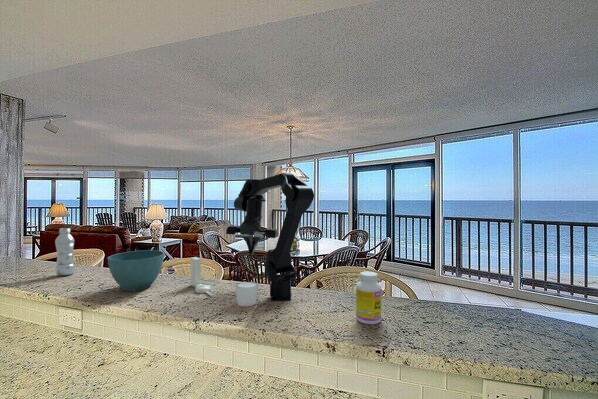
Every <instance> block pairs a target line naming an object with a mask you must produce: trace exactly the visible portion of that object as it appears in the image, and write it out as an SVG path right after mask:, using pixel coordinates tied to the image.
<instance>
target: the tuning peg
mask: <svg viewBox="0 0 598 399" xmlns="http://www.w3.org/2000/svg"><path fill="white" fill-rule="evenodd" d="M201 261H202V260H201V258H200V257H198V256H193V257H190V286H192V287H193V288H195V293H196V294H207V295H209V296H210V297H211V298H212V297H214V293H213V294H212V293H211V290H212V289H211V288H212V287H211V285H209V284H202V282H201V281H202V276H201V275H202V273H201V272H202V265H201V264H202V262H201Z"/></svg>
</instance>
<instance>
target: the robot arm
mask: <svg viewBox="0 0 598 399" xmlns="http://www.w3.org/2000/svg"><path fill="white" fill-rule="evenodd" d="M277 188H281V192H282V194H283V195H284V196H285V198H284V199H285V200H284V203H285V206H286V212H285V213H286V214H285V216H284V219H283V223H282V226H281V229H280V233H279V229H278V228H269V227H268V228H267V229H262V219H263V216H262V214H263V212H262V211H263V202H264V203H265V202H266V201H267V200H266V198H265V197H264V196H263V195H264V194H266V193H268V191H269V190H273V189H277ZM314 199H315V193H314V190H313V189H312V187H311V186H309V185H308V184H307V183H305V181H303V180H301V179H300V178H298V177H297V176H296V175H295V174H294V173H290V172H281V173H279V174H276V175H273V176H272V175H271V176H268V177H264V178H261V179H256V178H255V179H253V178H251V179H249V178H248V179H246V180H245V182H244V184H243V186H242V189H241V190H240V192H239V193H238V195H237V197H236V198H235V199H234V202H233V207H234V209H235V210H236V211H237V212H245V216H244V220H243V221H242V222H241V224H240V225H233V224H231V225H228V226H227V227H226V229H225V230H226V231H225V233H226V235H235V234H237V233H238V234H240V238H243V239H244V241H245V243H246V246H247V250H248V253H249V255H251V256H252V255H254V252H255V250H256V248H257V246H258V243H259V241H260V239H263V238H264V236H265V237H266V238H269V239H276V238H277V237H278V240H277V242H276V245H275V247H274V248H273V249H268V250H267V253H266V258H265V259H264V270H265V274H266V280H268V281H269V282H270V283H269V296H270V297H269V298H270V301H292V279H295V278H296V276H297V271H296V269H295V268H294V266H293V264H292V261H293V259H292V255H291V249H292V246H293V243H294V242H295V241H294V240H295V238H296V234H297V232H298V228H299V225H300V222H301V219H302V217H303V214H304V213H305V212H307V210H308V209H309V208H310V207H311V205H312V202H314ZM253 235H254V236H253Z"/></svg>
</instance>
